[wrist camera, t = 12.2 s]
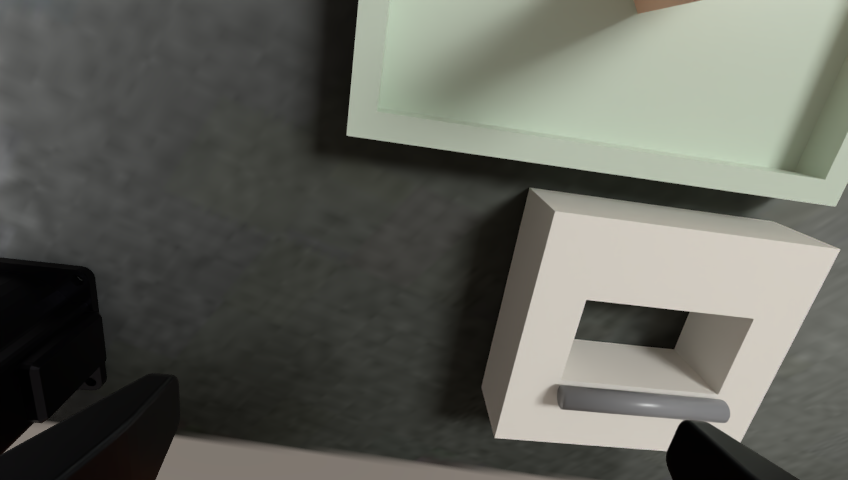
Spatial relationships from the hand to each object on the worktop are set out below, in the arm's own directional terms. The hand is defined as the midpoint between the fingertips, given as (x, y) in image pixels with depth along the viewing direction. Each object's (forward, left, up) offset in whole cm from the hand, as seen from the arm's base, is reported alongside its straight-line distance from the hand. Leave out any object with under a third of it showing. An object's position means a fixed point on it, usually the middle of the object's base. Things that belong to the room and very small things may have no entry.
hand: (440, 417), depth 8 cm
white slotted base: (+11, -4, -13) cm, 17 cm away
